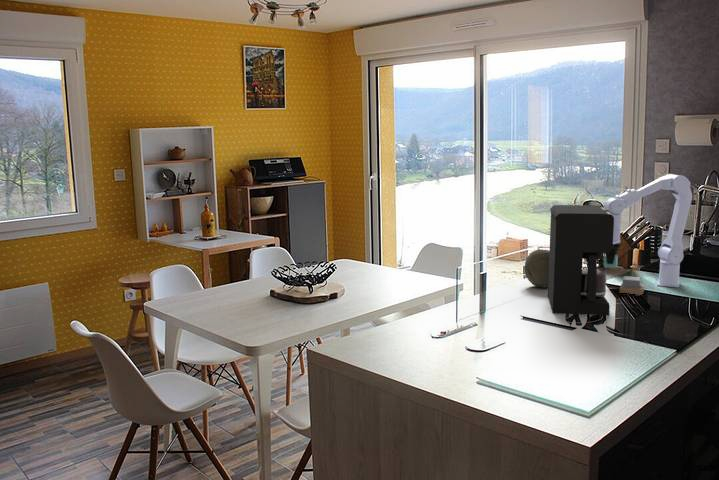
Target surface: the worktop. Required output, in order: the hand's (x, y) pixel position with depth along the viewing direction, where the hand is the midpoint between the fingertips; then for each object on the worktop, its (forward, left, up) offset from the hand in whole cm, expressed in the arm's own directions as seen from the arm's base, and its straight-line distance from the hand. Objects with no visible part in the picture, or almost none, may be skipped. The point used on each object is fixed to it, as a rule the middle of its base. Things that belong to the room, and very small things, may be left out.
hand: (610, 262), depth 271 cm
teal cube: (0, 0, -2) cm, 2 cm away
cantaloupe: (+13, -24, -10) cm, 29 cm away
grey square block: (+8, +9, -7) cm, 14 cm away
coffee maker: (+38, -6, -10) cm, 40 cm away
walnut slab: (+8, +9, -10) cm, 16 cm away
